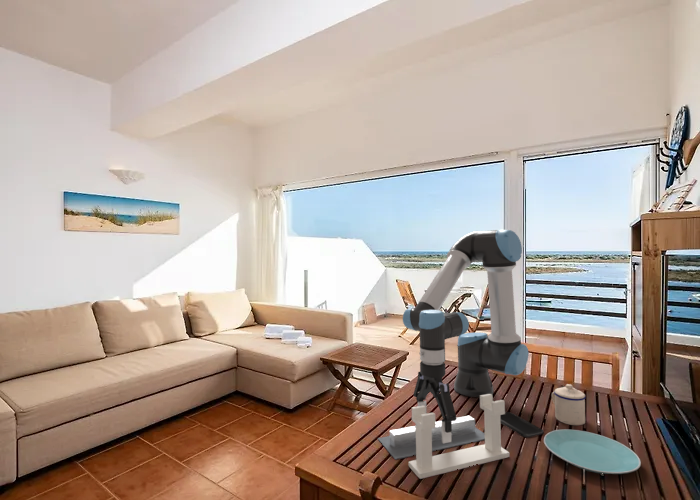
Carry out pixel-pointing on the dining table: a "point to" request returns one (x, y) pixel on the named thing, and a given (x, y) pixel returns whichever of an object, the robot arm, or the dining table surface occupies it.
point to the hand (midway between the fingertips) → (433, 431)
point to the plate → (592, 452)
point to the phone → (520, 425)
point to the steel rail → (408, 434)
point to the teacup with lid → (569, 405)
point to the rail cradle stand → (460, 458)
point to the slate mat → (436, 444)
